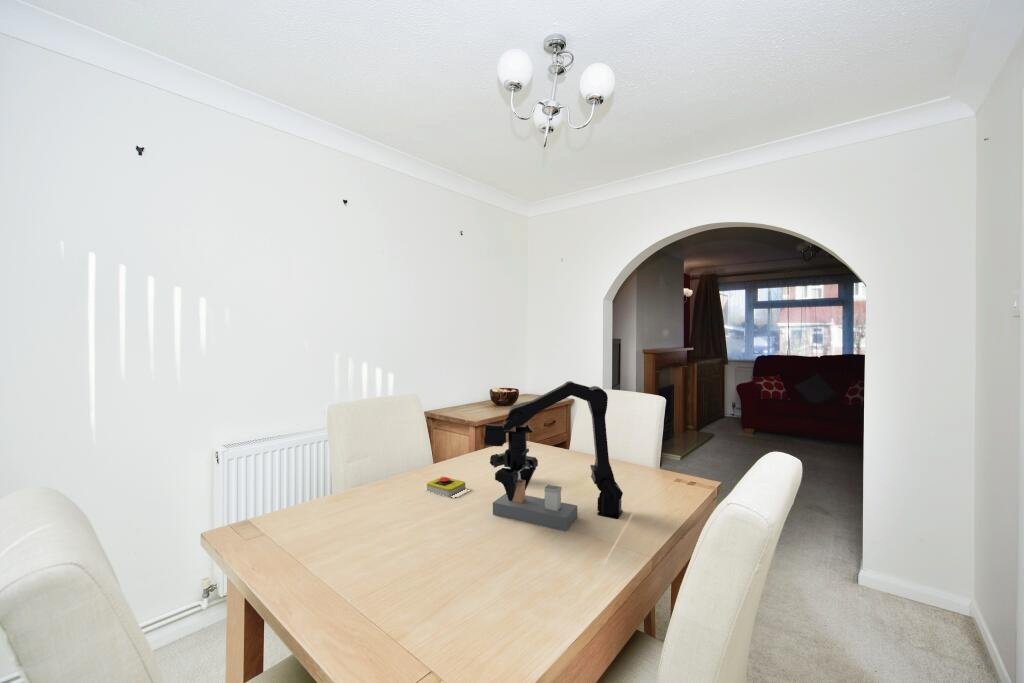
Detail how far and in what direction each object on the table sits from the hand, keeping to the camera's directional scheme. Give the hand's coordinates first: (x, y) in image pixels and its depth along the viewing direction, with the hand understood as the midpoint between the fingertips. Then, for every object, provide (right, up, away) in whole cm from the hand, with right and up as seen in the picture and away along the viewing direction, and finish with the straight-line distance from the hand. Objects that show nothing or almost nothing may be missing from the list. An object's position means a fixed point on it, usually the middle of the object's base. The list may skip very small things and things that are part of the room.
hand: (517, 495), depth 137 cm
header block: (+5, -6, -3) cm, 8 cm away
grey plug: (+11, -6, -5) cm, 13 cm away
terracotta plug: (0, -5, 0) cm, 5 cm away
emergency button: (-25, -6, +19) cm, 32 cm away
